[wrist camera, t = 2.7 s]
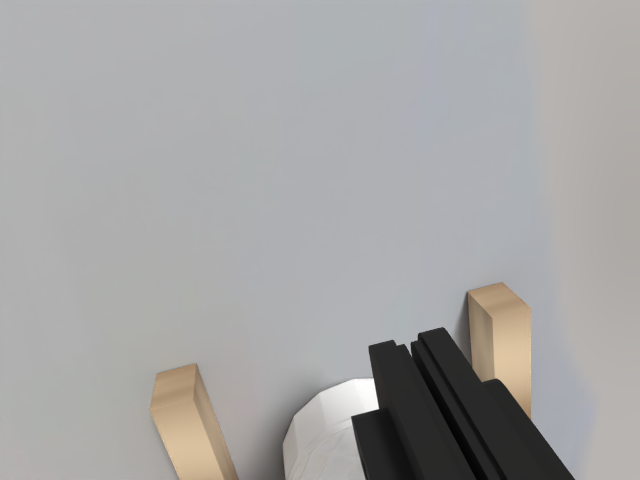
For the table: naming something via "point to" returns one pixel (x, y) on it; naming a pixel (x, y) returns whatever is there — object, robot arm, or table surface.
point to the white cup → (328, 433)
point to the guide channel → (206, 437)
